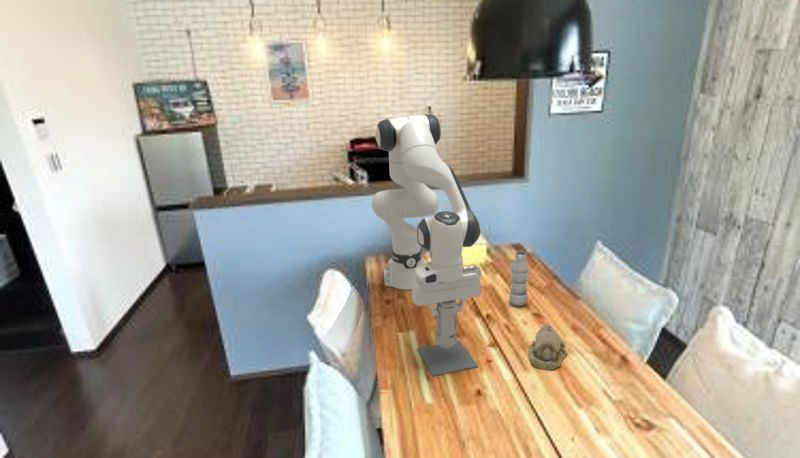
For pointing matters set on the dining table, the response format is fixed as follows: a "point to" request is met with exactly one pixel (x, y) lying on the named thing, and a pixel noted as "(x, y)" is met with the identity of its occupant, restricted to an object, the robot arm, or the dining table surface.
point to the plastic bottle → (519, 280)
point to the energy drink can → (446, 324)
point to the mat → (446, 359)
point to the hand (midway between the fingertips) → (446, 313)
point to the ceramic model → (547, 349)
